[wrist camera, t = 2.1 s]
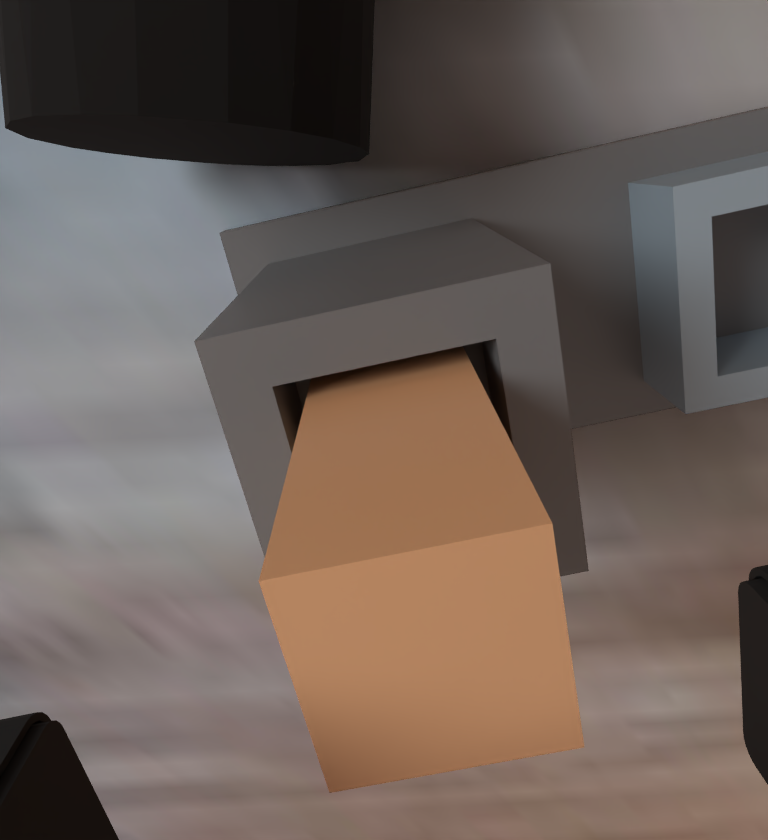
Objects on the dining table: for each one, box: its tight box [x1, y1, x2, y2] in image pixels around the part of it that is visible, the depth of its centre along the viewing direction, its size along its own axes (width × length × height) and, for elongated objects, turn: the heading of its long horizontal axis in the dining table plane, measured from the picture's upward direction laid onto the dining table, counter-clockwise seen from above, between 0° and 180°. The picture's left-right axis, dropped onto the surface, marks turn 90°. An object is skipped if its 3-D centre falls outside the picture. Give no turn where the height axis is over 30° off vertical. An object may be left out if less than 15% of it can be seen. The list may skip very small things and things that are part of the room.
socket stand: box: [194, 107, 768, 576], centre depth 22 cm, size 25×11×13 cm, turn 102°
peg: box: [259, 346, 584, 793], centre depth 14 cm, size 4×4×10 cm
